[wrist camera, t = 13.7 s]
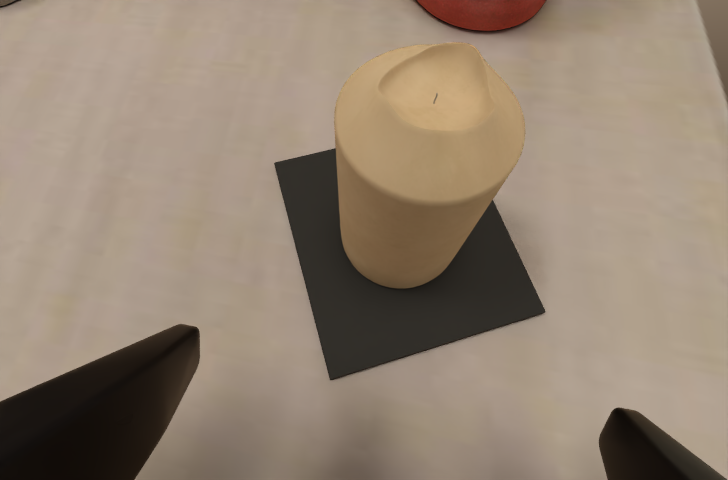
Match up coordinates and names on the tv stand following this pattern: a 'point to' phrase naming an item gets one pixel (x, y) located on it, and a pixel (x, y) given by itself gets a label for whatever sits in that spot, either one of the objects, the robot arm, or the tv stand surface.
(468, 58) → the candle
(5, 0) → the mechanical component
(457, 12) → the stacking bear
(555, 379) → the tv stand surface
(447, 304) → the mat
